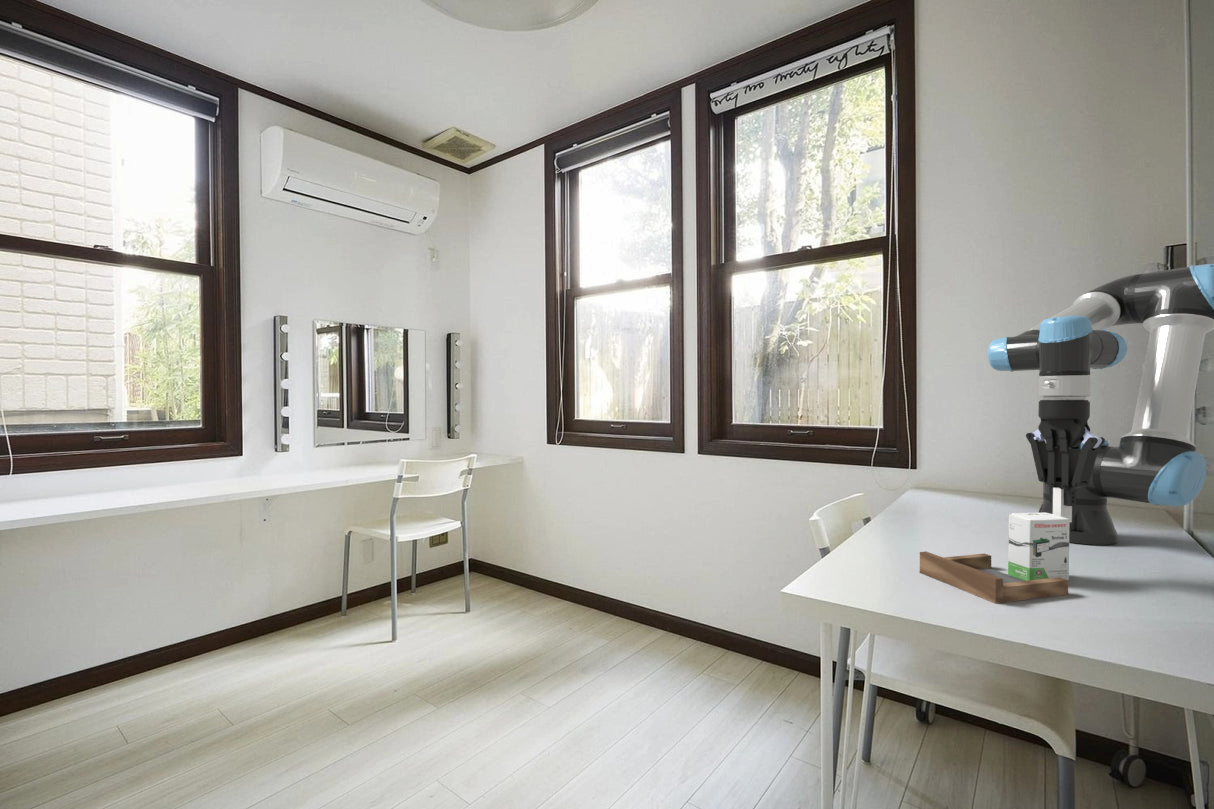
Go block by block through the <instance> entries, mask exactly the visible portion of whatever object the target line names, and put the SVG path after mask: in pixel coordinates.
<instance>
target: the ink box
mask: <svg viewBox="0 0 1214 809" xmlns="http://www.w3.org/2000/svg"><path fill="white" fill-rule="evenodd" d="M1069 522H1070V519H1068V518H1064V517H1061V516H1057V515H1054V514H1050V513H1044V512H1043V513H1038V512H1012V513H1010V514H1009V515H1008V554H1007V555H1008V558H1007V559H1008V560H1007V561H1008V564H1007V574H1008V575H1011V576H1013V577H1016V578H1019V579H1022V580H1025V581H1030V580H1039V579H1048V578H1057V577H1060V578H1063V579H1067V580H1068V582H1070V542H1069Z"/></svg>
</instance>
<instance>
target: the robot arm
mask: <svg viewBox="0 0 1214 809" xmlns="http://www.w3.org/2000/svg"><path fill="white" fill-rule="evenodd" d="M1135 324H1142V327H1143V329H1145V330H1146V331H1148V332H1149V337H1148V342H1147V348H1146V352H1145V358H1144V362H1143V363H1144V364H1143V369H1142V374H1141V379H1140V384H1139V390H1138V395H1137V401H1136V406H1135V409H1134V410H1135V411H1134V416H1133V421H1132V426H1131V431H1130V432H1127V433H1126V434H1124V435H1122V436H1120V441H1119V446H1110V443H1109V442H1108V440H1107V439H1105V438H1104V437H1103V436H1096V435H1095V434H1094V433H1092V432H1091V427H1090V426H1089V422H1088V421H1089V419H1090V418H1091V416H1090V414H1091V401H1090V400H1088V399H1087V398H1088V397H1090V396H1091V369H1092V370H1097V369H1101V370H1104V369H1107V368H1111V367H1115V366H1117V365H1119V364H1120V363H1121V362H1122V361H1123V360H1124V359H1125V357H1126V355H1127V353H1128V344H1127V341H1126V339H1124V337H1123V336H1122V335H1120V334H1118V333H1117V332H1114V331H1110V330H1108V328H1111V327H1115V326H1122V325H1135ZM1211 331H1214V263H1208V264H1206V263H1205V264H1198V265H1197V264H1196V265H1193V264H1191V265H1189V266H1185V267H1178V268H1172V269H1171V268H1170V269H1167V270H1159V271H1153V272H1146V273H1144V272H1143V273H1140V274H1139V273H1138V274H1130V275H1127V276H1123V277H1120V278H1117V279H1114V280H1111V281H1109V282H1107V283H1105V284H1101V285H1100V286H1098V287H1095V288H1094V289H1091V290H1088V291H1087V292H1085V293H1083V294H1081V295H1080V296H1078V297H1077V298H1076V299H1075V300H1074V301H1073V303H1072V304H1071V306H1069V307H1067V308H1065V309H1063V310H1062V311H1060V312H1058V313H1056V314H1055V315H1052V316H1050V317H1049V318H1045V319H1043V320H1042V321H1041V322H1039V323H1037V325H1035V326H1033V327H1031V328H1030V329H1027V330H1026V331H1024V332H1022V333H1020V334H1018V335H1015V336H1005V337H999V338H996V339H994V340H992V341H991V343H990V344H989V346H988V348H987V358H988V363H989V365H990V366H991V368H992V369H993V370H996V371H998V372H999V371H1000V372H1019V371H1020V372H1021V371H1022V372H1023V371H1039V373H1038V376H1039V377H1038V396H1039V397H1040V398H1041V397H1042V399H1040V400H1039V401H1038V413H1037V414H1038V415H1037V416H1038V418H1039V419H1040V422H1039V424H1038V426H1037V427H1038V428H1037V429H1036V430H1034V431H1033V432H1026V434H1025V438H1026V440H1027V441H1028V443H1029V445H1030V448H1031V454H1032V456H1033V460H1034V466H1035V469H1036V470H1035V471H1036V473H1037V479H1038V481H1039V482H1040V483H1042V484H1043V485H1042V496H1043V497H1042V503H1041V505H1040V508H1039V510H1038V511H1037V513H1043V512H1044V513H1050V514H1054V515H1057V516H1061V517H1064V518H1068V519H1070V522H1069V543H1073V544H1083V545H1093V546H1095V545H1097V546H1100V545H1101V546H1103V545H1106V546H1107V545H1114V544H1117V541H1118V532H1117V530H1116V528H1115V525H1114V522H1113V519H1112V517H1111V514H1110V512H1109V509H1108V499H1116V500H1121V501H1122V500H1123V501H1130V502H1136V503H1137V502H1138V503H1143V504H1144V503H1145V504H1152V505H1154V506H1169V507H1183V506H1186V505H1188V504H1190V503H1191V502H1192V501H1194V500H1195V499H1196V498H1197V497H1198V495H1199V494H1200V492H1201V491H1202V488H1203V487H1204V484H1205V481H1206V477H1207V470H1206V467H1207V461H1206V459H1205V457H1204V455H1203V454H1201V453H1200V452H1199V453H1198V452H1197V451H1196V449H1197V446H1196V444H1195V443H1194V442H1192V441H1191V440H1190V439H1189V438H1188V433H1189V427H1190V422H1191V416H1192V410H1193V407H1194V399H1195V393H1196V390H1197V383H1198V378H1199V372H1200V365H1201V361H1202V356H1203V349H1204V343H1205V337H1206V334H1209V332H1211Z"/></svg>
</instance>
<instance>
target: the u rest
mask: <svg viewBox="0 0 1214 809" xmlns="http://www.w3.org/2000/svg"><path fill="white" fill-rule="evenodd" d="M919 573H920V574H922V575H925V576H927V577H929V578H933V579H935V580H937V581H939V582H942V583H945V584H948V585H950V586H951V587H954V588H957V589H959V590H961V591H964V592H967V593H970V594H972V595H974V596H977V597H979V598H981V599H985V600H987V601H989V602H991V603H994V604H1001V603H1008V602H1009V603H1010V602H1016V601H1017V602H1018V601H1025V600H1026V601H1027V600H1034V599H1035V600H1036V599H1040V598H1041V599H1042V598H1051V597H1059V596H1066V595H1069V581H1068V580H1067V579H1063V578H1060V577H1057V578H1048V579H1039V580H1030V581H1025V580H1022V579H1019V578H1016V577H1013V576H1011V575H1008V573H1004V572H1003V571H1002V572H1001V571H998V570H995V569H993V568H992V555H990V554H987V553H977V554H975V553H974V554H966V555H965V554H964V555H956V556H955V555H954V556H945V557H943V556H940V555H937V554H935V553H932V552H929V551H919Z"/></svg>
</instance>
